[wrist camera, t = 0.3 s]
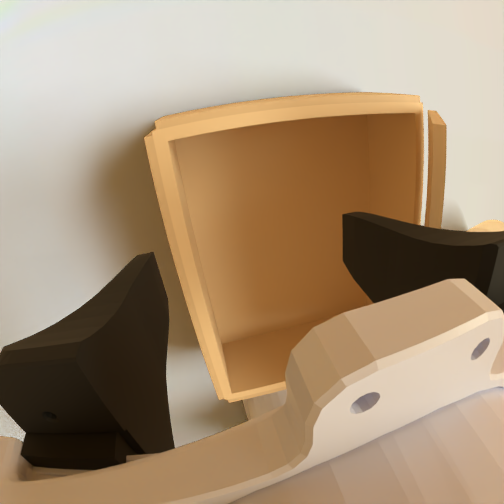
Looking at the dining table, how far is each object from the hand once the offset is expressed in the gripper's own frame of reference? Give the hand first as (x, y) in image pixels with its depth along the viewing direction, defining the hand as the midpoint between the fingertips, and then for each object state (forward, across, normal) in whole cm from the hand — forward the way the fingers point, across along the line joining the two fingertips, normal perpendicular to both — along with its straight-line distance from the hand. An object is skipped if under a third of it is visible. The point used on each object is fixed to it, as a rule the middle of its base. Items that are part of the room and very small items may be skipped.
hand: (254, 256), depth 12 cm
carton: (+10, -4, +4) cm, 12 cm away
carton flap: (+1, -9, +4) cm, 10 cm away
